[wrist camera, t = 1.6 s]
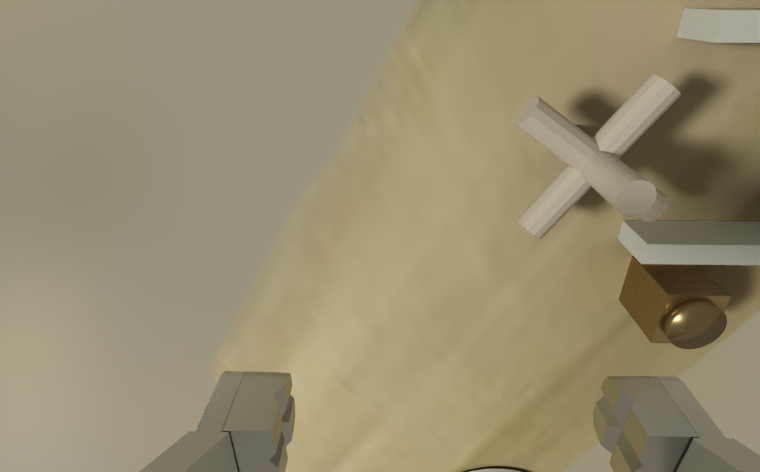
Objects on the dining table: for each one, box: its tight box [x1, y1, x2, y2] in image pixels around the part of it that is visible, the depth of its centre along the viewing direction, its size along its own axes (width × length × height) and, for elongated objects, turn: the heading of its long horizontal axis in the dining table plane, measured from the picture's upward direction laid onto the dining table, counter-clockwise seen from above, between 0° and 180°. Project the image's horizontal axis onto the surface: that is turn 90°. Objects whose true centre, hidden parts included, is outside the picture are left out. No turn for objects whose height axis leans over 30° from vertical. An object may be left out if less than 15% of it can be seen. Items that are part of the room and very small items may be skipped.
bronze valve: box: [619, 256, 731, 349], centre depth 32 cm, size 4×4×6 cm
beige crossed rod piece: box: [514, 74, 681, 239], centre depth 25 cm, size 10×10×10 cm
